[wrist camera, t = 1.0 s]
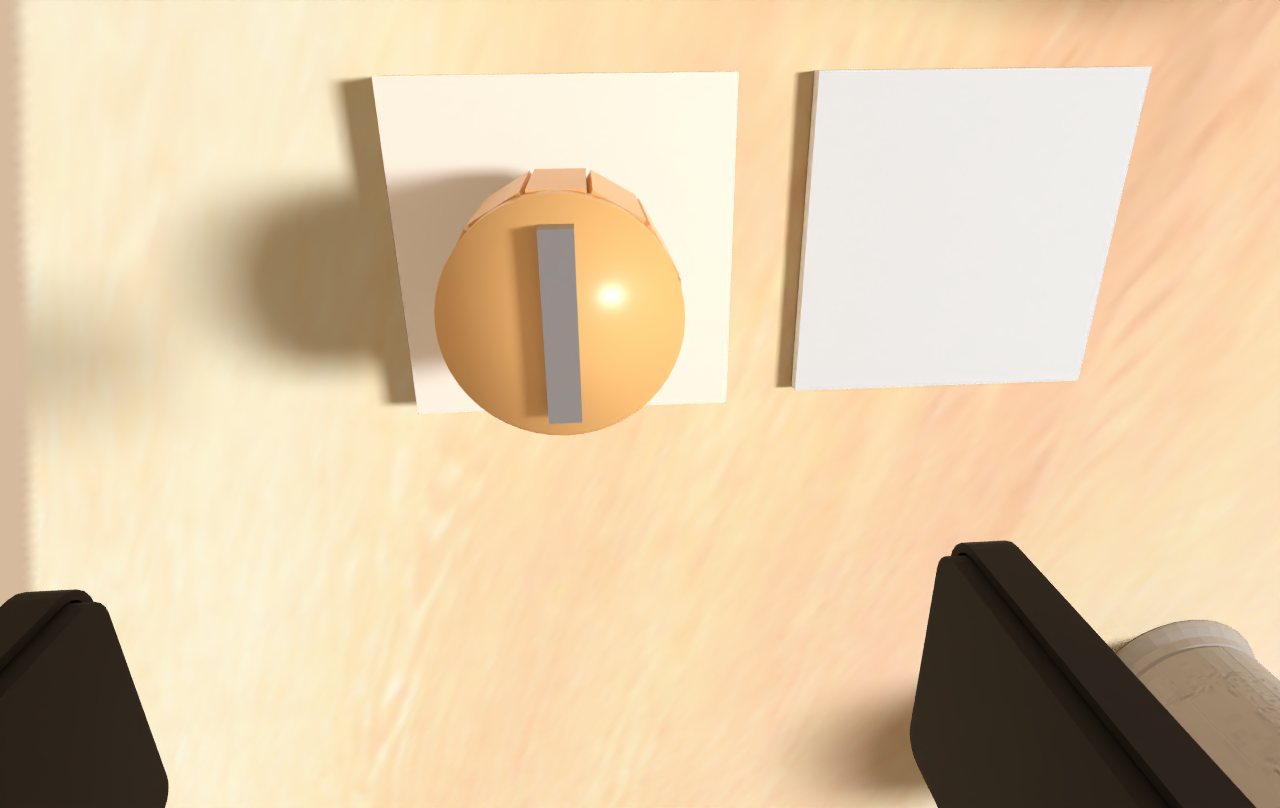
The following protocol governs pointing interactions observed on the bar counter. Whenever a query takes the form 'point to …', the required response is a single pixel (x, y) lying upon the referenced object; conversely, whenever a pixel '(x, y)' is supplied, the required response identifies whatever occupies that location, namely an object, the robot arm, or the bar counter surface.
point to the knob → (560, 304)
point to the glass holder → (1216, 699)
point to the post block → (553, 139)
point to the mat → (958, 222)
